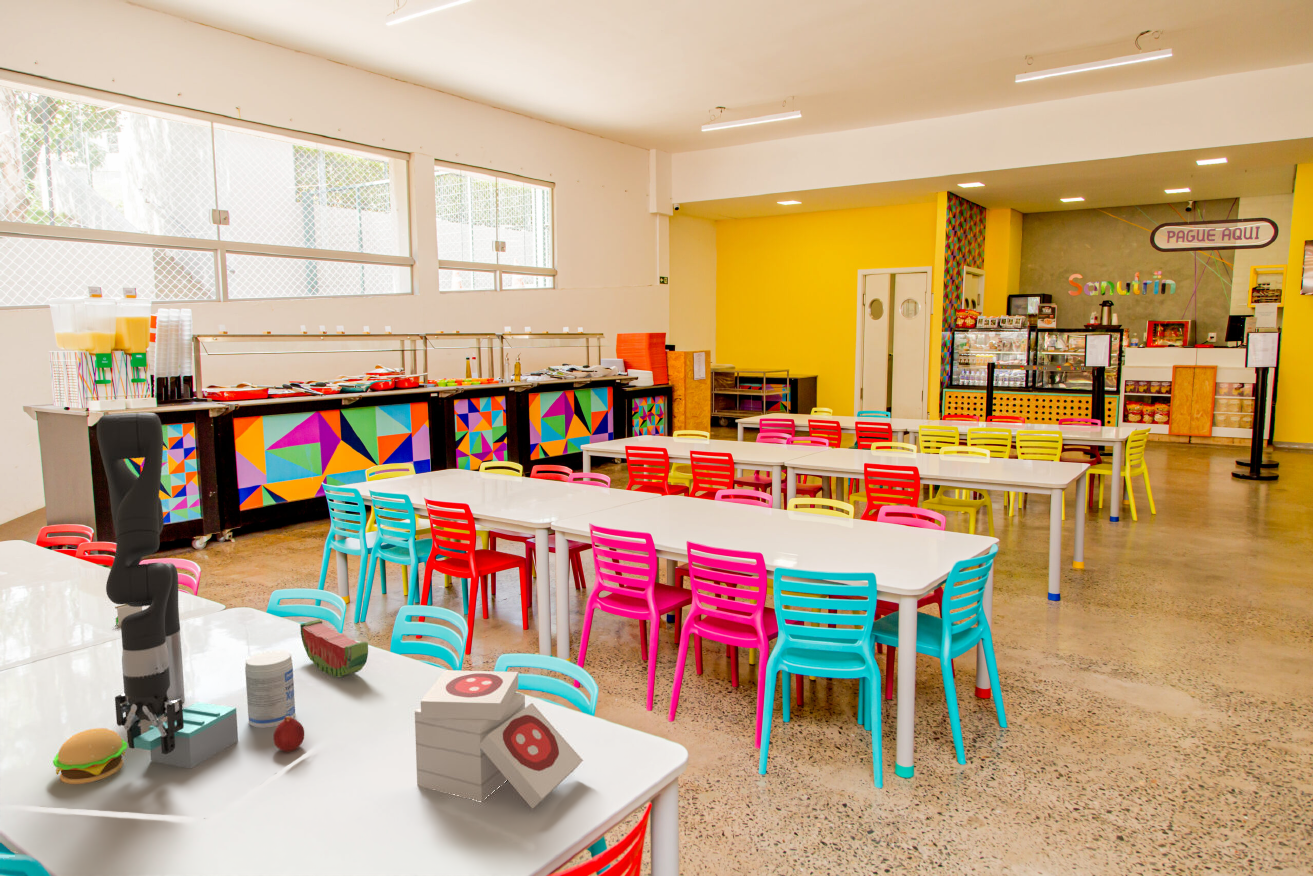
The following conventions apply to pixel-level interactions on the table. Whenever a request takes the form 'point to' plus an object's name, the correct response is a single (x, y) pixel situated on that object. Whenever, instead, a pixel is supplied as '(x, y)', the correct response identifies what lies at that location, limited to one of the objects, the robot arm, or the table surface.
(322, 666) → the fruit slice
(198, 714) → the lid
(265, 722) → the supplement tub
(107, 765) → the hamburger
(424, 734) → the pizza boxes
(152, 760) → the tub
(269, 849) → the table surface
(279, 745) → the red round fruit
